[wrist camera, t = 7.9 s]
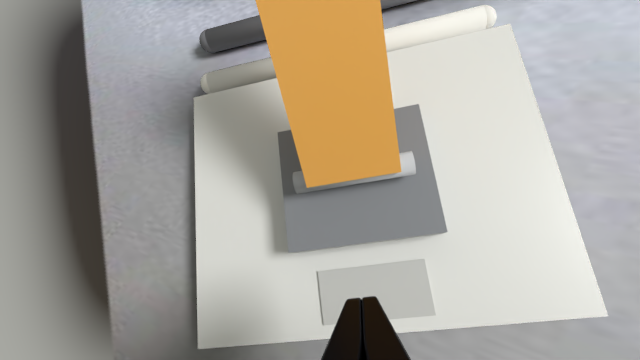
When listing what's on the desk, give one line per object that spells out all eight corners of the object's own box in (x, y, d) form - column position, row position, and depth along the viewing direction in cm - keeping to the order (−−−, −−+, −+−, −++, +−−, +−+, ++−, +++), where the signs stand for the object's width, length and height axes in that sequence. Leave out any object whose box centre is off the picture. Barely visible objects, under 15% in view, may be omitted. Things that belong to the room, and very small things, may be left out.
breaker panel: (588, 310, 13) (633, 323, 11) (211, 342, 16) (181, 357, 14) (501, 39, 17) (520, 3, 14) (204, 106, 20) (180, 86, 17)
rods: (473, -29, 18) (481, -52, 17) (494, 35, 17) (503, 17, 16) (206, 41, 21) (194, 27, 20) (208, 101, 20) (195, 90, 19)
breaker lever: (418, 182, 12) (385, -153, 8) (295, 202, 13) (208, -92, 9) (410, 165, 14) (378, -123, 10) (301, 183, 15) (229, -74, 11)
